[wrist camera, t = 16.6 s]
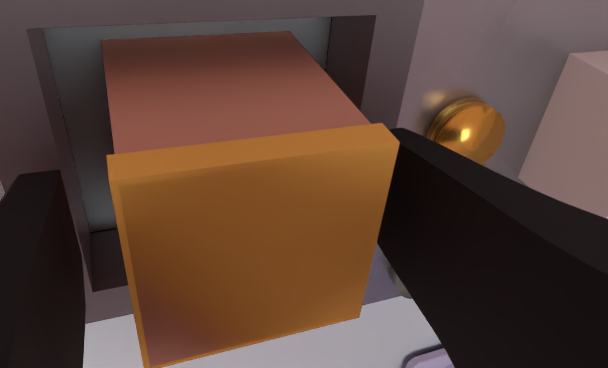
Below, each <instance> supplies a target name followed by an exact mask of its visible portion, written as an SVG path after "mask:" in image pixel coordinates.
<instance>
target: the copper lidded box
mask: <svg viewBox="0 0 608 368" xmlns="http://www.w3.org/2000/svg"><path fill="white" fill-rule="evenodd" d="M101 44H102V52H103V61H104V69H105V78H106V86H107V95H108V103H109V111H110V120H111V128H112V137H113V145H114V153H115V154H112V155H106V156H107V166H108V176H109V184H110V189H111V195H112V200H113V205H114V211H115V216H116V221H117V227H118V232H119V238H120V243H121V248H122V254H123V259H124V264H125V270H126V275H127V280H128V286H129V291H130V296H131V302H132V307H133V312H134V318H135V323H136V328H137V334H138V339H139V345H140V350H141V355H142V361H143V366H144V368H162V367H166V366H169V365H173V364H177V363H181V362H185V361H189V360H193V359H197V358H201V357H205V356H209V355H213V354H217V353H221V352H225V351H229V350H232V349H236V348H240V347H244V346H248V345H252V344H256V343H260V342H264V341H268V340H272V339H276V338H280V337H284V336H288V335H292V334H295V333H299V332H303V331H307V330H311V329H315V328H319V327H323V326H327V325H331V324H335V323H339V322H343V321H347V320H351V319H355V318H358V317H359V316H360V312H361V307H362V303H363V299H364V295H365V290H366V286H367V282H368V277H369V273H370V269H371V264H372V260H373V256H374V251H375V247H376V243H377V239H378V234H379V230H380V226H381V221H382V217H383V213H384V208H385V204H386V200H387V196H388V191H389V187H390V183H391V178H392V174H393V170H394V165H395V161H396V157H397V153H398V148H399V144H400V142H399V141H398V140H397V138H396V137H395V136H394V135H393V134H392V133H391V132H390V131H389V130H388V129H387V128H386V126H385V125H384V124H383V123H375V124H371V123H370V122H369V121H368V120H367V119H366V117H365V116H364V115H363V114H362V113H361V112H360V111H359V109H358V108H357V107H356V106H355V105H354V104H353V103H352V102H351V100H350V99H349V98H348V97H347V96H346V95H345V94H344V92H343V91H342V90H341V89H340V88H339V87H338V86H337V85H336V83H335V82H334V81H333V80H332V79H331V78H330V77H329V76H328V74H327V73H326V72H325V71H324V70H323V69H322V68H321V66H320V65H319V64H318V63H317V62H316V61H315V60H314V59H313V57H312V56H311V55H310V54H309V53H308V52H307V51H306V49H305V48H304V47H303V46H302V45H301V44H300V43H299V42H298V40H297V39H296V38H295V37H294V36H293V35H292V34H291V32H290V31H283V32H262V33H241V34H220V35H200V36H179V37H158V38H137V39H117V40H101Z"/></svg>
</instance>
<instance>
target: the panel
mask: <svg viewBox="0 0 608 368" xmlns="http://www.w3.org/2000/svg"><path fill="white" fill-rule="evenodd" d="M607 50H608V0H425V1H424V6H423V10H422V15H421V19H420V24H419V28H418V33H417V37H416V42H415V46H414V51H413V55H412V60H411V64H410V69H409V73H408V78H407V82H406V87H405V91H404V96H403V100H402V105H401V109H400V114H399V118H398V123H397V127H396V128H401V127H402V128H405V129H408V130H410V131H413V132H415V133H417V134H420V135H422V136H424V137H426V138H428V139H430V140H432V141H435V142H437V143H439V144H441V145H443V146H445V147H447V148H449V149H451V150H453V151H455V152H457V153H459V154H461V155H463V156H465V157H467V158H469V159H471V160H473V161H475V162H477V163H479V164H481V165H483V166H485V167H487V168H489V169H491V170H493V171H495V172H497V173H499V174H501V175H503V176H505V177H507V178H510V179H512V180H514V181H516V182H518V183H520V184H522V185H525V186H527V185H526V184H525V183H524V182H523V181H522V180H521V179H519V178H518V176H519V173H520V171H521V168H522V166H523V164H524V161H525V159H526V156H527V154H528V152H529V149H530V147H531V145H532V142H533V140H534V137H535V135H536V133H537V130H538V128H539V125H540V123H541V121H542V118H543V116H544V113H545V111H546V109H547V106H548V104H549V101H550V99H551V97H552V94H553V92H554V89H555V87H556V85H557V82H558V80H559V78H560V75H561V73H562V70H563V68H564V66H565V63H566V61H567V58H568V56H569V54H570V53H581V52H594V51H607ZM527 187H528V186H527ZM529 188H530V187H529ZM398 296H403V297H405V298H410V299H413V298H412V297H411V295H410V294H409V292H408V291H407V289H406V288H405V286H404V285H403V283H402V282H401V280H400V279H399V277H398V276H397V274H396V272H395V271H394V269H393V268H392V266H391V265H390V263H389V262H388V260H387V259H386V257H385V255H384V254H383V252H382V251H381V249H380V247H379V246H378V243H376V247H375V251H374V256H373V260H372V264H371V269H370V273H369V277H368V282H367V286H366V290H365V295H364V299H363V303H362V305H366V304H370V303H374V302H378V301H382V300H386V299H390V298H394V297H398Z"/></svg>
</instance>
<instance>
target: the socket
mask: <svg viewBox="0 0 608 368" xmlns="http://www.w3.org/2000/svg"><path fill="white" fill-rule="evenodd" d="M424 1H425V0H0V178H1V181H2V184H3V187H4V190H5V193H6V192H7V190H8V189H9V187H10V186H11V184H12V182H13V181H14V180H15V179H16V178H17V176H18V175H19V174H26V173H34V172H42V171H50V170H58V169H60V172H61V176H62V180H63V184H64V188H65V192H66V196H67V200H68V203H69V207H70V211H71V215H72V219H73V223H74V227H75V231H76V235H77V239H78V243H79V246H80V250H81V254H82V262H83V274H84V288H85V302H86V314H85V324H87V323H92V322H96V321H101V320H106V319H110V318H115V317H119V316H124V315H129V314H133V313H134V312H133V307H132V302H131V296H130V291H129V286H128V280H127V275H126V270H125V264H124V259H123V254H122V248H121V243H120V238H119V232H118V229H115V230H108V231H102V232H96V233H90V230H89V226H88V222H87V218H86V213H85V209H84V205H83V200H82V196H81V192H80V188H79V183H78V179H77V175H76V170H75V166H74V162H73V158H72V153H71V149H70V145H69V140H68V136H67V132H66V128H65V123H64V119H63V115H62V110H61V106H60V102H59V98H58V93H57V89H56V85H55V80H54V76H53V72H52V68H51V63H50V59H49V55H48V50H47V46H46V42H45V38H44V33H43V29H42V28H59V27H85V26H110V25H135V24H160V23H185V22H210V21H235V20H260V19H285V18H310V17H332V23H331V32H330V40H329V49H328V57H327V66H326V73H327V74H328V76H329V77H330V78H331V79H332V80H333V81H334V82H335V83H336V85H337V86H338V87H339V88H340V89H341V90H342V91H343V92H344V94H345V95H346V96H347V97H348V98H349V99H350V100H351V102H352V103H353V104H354V105H355V106H356V107H357V108H358V109H359V111H360V112H361V113H362V114H363V115H364V116H365V117H366V119H367V120H368V121H369V122H370V123H371V124H375V123H383V124H384V125H385V126H386V128H387V129H393V128H396V127H397V123H398V118H399V114H400V109H401V105H402V100H403V96H404V91H405V87H406V82H407V78H408V73H409V69H410V64H411V60H412V55H413V51H414V46H415V42H416V37H417V33H418V28H419V24H420V19H421V15H422V10H423V6H424Z"/></svg>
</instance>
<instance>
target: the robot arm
mask: <svg viewBox="0 0 608 368" xmlns="http://www.w3.org/2000/svg"><path fill="white" fill-rule="evenodd" d="M388 130H389V131H390V132H391V133H392V134H393V135H394V136H395V137H396V138H397V140H398V141H399V142H400V144H399V148H398V153H397V157H396V161H395V165H394V170H393V174H392V178H391V183H390V187H389V191H388V196H387V200H386V204H385V208H384V213H383V217H382V221H381V226H380V230H379V234H378V239H377V243H378V246H379V247H380V249H381V251H382V252H383V254H384V255H385V257H386V259H387V260H388V262H389V263H390V265H391V266H392V268H393V269H394V271H395V272H396V274H397V276H398V277H399V279H400V280H401V282H402V283H403V285H404V286H405V288H406V289H407V291H408V292H409V294H410V295H411V297H412V298H413V300H414V301H415V303H416V304H417V306H418V307H419V309H420V310H421V312H422V313H423V315H424V316H425V318H426V320H427V321H428V323H429V324H430V326H431V327H432V329H433V330H434V332H435V333H436V335H437V337H438V338H439V340H440V342H441V343H442V345H443V347H444V348H443V349H439V350H436V351H432V352H429V353H426V354H422V355H419V356H416V357H414V358H412V359H411V360H410V361H409V362H408V363H407V365H406V368H608V219H607V218H604V217H601V216H599V215H596V214H593V213H591V212H588V211H585V210H582V209H580V208H577V207H574V206H572V205H569V204H567V203H564V202H562V201H559V200H557V199H554V198H552V197H550V196H547V195H545V194H543V193H541V192H538V191H536V190H534V189H532V188H529V187H527V186H525V185H522V184H520V183H518V182H516V181H514V180H512V179H510V178H507V177H505V176H503V175H501V174H499V173H497V172H495V171H493V170H491V169H489V168H487V167H485V166H483V165H481V164H479V163H477V162H475V161H473V160H471V159H469V158H467V157H465V156H463V155H461V154H459V153H457V152H455V151H453V150H451V149H449V148H447V147H445V146H443V145H441V144H439V143H437V142H435V141H432V140H430V139H428V138H426V137H424V136H422V135H420V134H417V133H415V132H413V131H410V130H408V129H405V128H402V127H401V128H393V129H388ZM85 314H86V302H85V288H84V274H83V262H82V254H81V250H80V246H79V243H78V239H77V235H76V231H75V227H74V223H73V219H72V215H71V211H70V207H69V203H68V200H67V196H66V192H65V188H64V184H63V180H62V176H61V172H60V169H58V170H50V171H42V172H34V173H26V174H19V175H18V176H17V178H16V179H15V180H14V181H13V182H12V184H11V186H10V187H9V189H8V190H7V192H6V193H5V195H4V196H3V198H2V199H1V201H0V368H83V354H84V334H85Z"/></svg>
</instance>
